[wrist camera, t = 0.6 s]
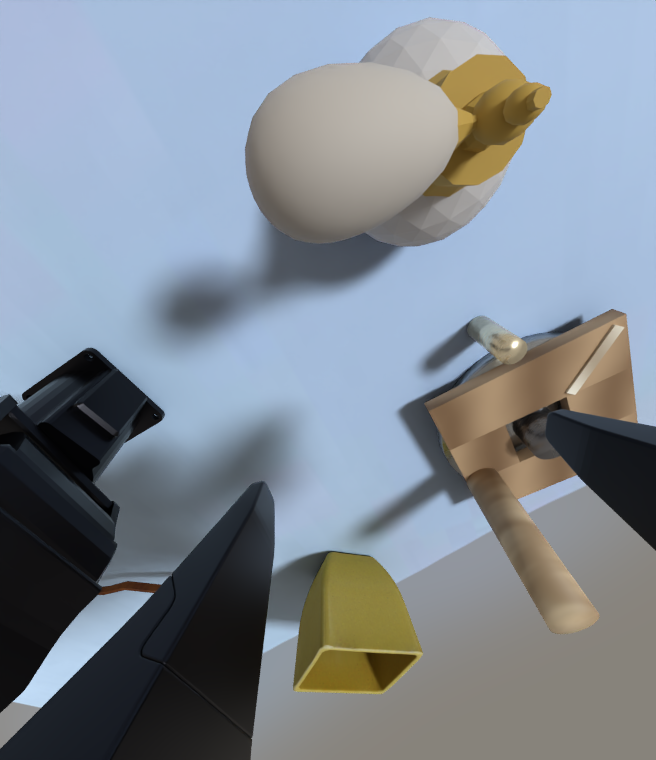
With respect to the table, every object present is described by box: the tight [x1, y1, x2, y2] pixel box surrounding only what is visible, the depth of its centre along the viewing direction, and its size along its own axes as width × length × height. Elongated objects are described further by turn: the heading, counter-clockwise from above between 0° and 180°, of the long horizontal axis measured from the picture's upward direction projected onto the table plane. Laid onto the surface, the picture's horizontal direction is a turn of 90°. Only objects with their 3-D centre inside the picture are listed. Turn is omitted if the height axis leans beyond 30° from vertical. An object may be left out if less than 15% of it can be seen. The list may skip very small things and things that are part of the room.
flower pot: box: [293, 552, 423, 694], centre depth 30 cm, size 9×9×9 cm
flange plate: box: [424, 309, 638, 634], centre depth 20 cm, size 13×13×11 cm
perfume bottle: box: [245, 17, 552, 247], centre depth 12 cm, size 8×10×12 cm
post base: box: [437, 316, 565, 476], centre depth 23 cm, size 14×17×4 cm
